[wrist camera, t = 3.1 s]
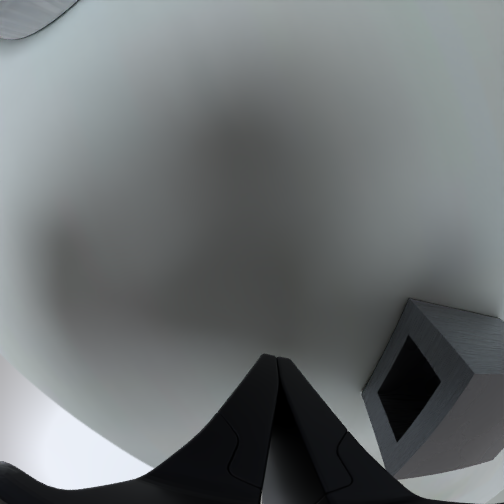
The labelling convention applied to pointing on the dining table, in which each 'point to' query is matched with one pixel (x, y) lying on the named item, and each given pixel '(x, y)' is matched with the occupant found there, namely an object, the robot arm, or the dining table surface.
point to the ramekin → (29, 16)
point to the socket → (438, 391)
